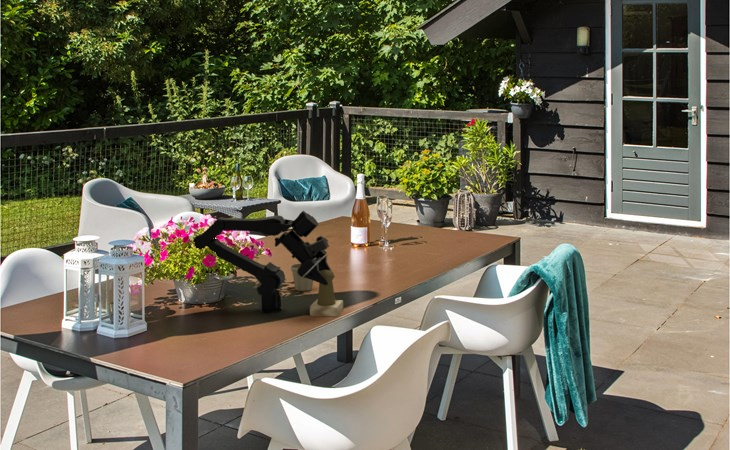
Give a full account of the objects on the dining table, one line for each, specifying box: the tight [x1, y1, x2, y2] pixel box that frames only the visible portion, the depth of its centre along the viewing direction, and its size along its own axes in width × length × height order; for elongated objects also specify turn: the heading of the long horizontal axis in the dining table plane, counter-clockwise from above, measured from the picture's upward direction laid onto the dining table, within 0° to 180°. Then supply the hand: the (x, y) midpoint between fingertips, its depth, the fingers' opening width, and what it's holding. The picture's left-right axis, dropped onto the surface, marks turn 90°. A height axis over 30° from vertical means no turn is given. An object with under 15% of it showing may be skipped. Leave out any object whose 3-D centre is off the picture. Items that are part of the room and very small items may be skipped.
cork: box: [317, 269, 336, 306], centre depth 310 cm, size 6×6×11 cm
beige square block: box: [309, 298, 344, 318], centre depth 312 cm, size 9×9×3 cm
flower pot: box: [289, 262, 314, 292], centre depth 341 cm, size 9×9×9 cm
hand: (330, 281), depth 310 cm, fingers open, 9 cm apart
